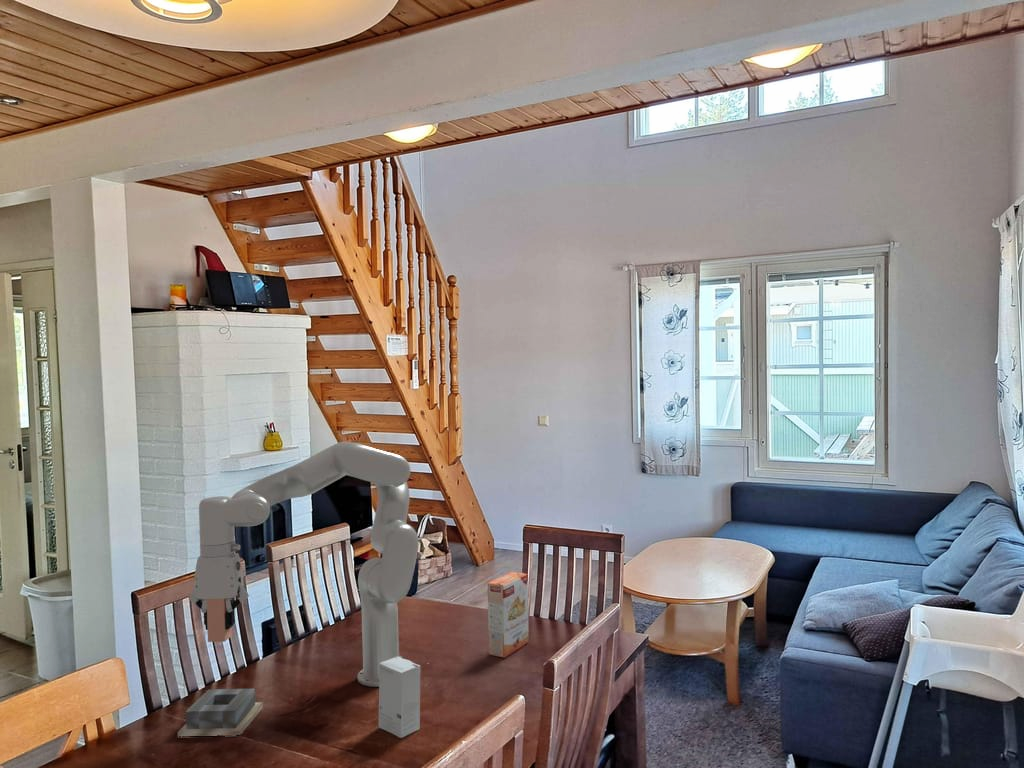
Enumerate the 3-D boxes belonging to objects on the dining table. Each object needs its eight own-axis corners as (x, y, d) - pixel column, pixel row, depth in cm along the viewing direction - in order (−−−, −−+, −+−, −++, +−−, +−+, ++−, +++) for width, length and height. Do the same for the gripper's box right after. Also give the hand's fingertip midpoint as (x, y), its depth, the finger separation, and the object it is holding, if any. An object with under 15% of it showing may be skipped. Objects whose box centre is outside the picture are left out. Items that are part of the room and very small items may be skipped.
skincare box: (378, 728, 158) (376, 663, 158) (398, 718, 162) (396, 654, 162) (402, 739, 152) (400, 672, 152) (422, 728, 157) (421, 663, 157)
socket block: (262, 707, 170) (262, 686, 170) (239, 736, 156) (238, 713, 156) (206, 708, 170) (205, 687, 170) (177, 737, 156) (177, 714, 156)
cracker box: (505, 659, 195) (503, 585, 195) (487, 655, 198) (485, 582, 199) (530, 642, 207) (528, 573, 207) (513, 639, 210) (511, 570, 210)
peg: (232, 635, 165) (231, 593, 165) (224, 641, 161) (223, 598, 161) (215, 635, 165) (214, 593, 165) (207, 641, 161) (206, 598, 161)
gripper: (258, 545, 167) (261, 621, 167) (190, 547, 167) (192, 623, 167) (246, 553, 159) (248, 632, 159) (174, 554, 159) (176, 634, 159)
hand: (219, 626), depth 163 cm, fingers closed on peg, 4 cm apart
